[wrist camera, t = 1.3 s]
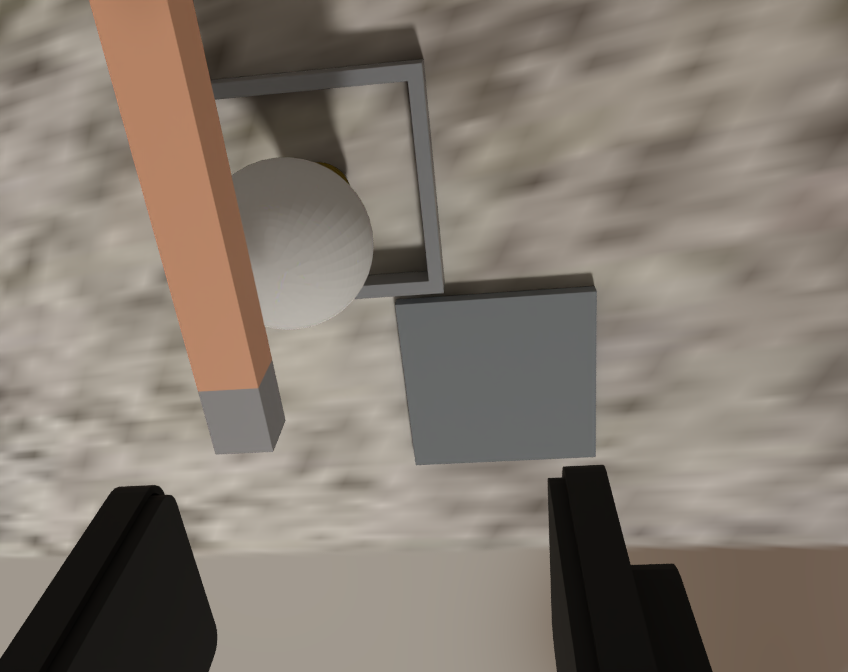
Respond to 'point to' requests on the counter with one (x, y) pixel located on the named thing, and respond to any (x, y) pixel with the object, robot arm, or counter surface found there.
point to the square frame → (415, 76)
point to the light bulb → (303, 239)
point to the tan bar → (193, 213)
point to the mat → (500, 375)
